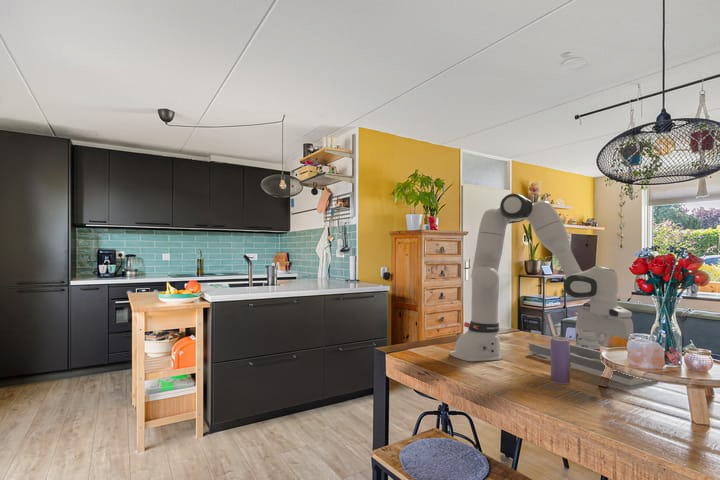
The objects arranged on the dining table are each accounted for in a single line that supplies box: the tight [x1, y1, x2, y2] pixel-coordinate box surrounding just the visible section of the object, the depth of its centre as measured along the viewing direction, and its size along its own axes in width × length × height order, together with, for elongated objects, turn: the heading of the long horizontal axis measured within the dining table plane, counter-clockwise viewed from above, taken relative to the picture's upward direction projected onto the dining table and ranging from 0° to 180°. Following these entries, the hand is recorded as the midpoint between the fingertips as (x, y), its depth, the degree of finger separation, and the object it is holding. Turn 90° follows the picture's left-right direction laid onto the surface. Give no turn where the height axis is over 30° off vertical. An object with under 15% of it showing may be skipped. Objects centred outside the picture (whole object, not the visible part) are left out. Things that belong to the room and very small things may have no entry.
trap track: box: [528, 342, 651, 387], centre depth 153 cm, size 16×42×6 cm, turn 25°
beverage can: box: [550, 336, 571, 385], centre depth 133 cm, size 6×6×15 cm
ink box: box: [575, 325, 601, 351], centre depth 172 cm, size 9×5×12 cm, turn 84°
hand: (602, 345), depth 147 cm, fingers closed
